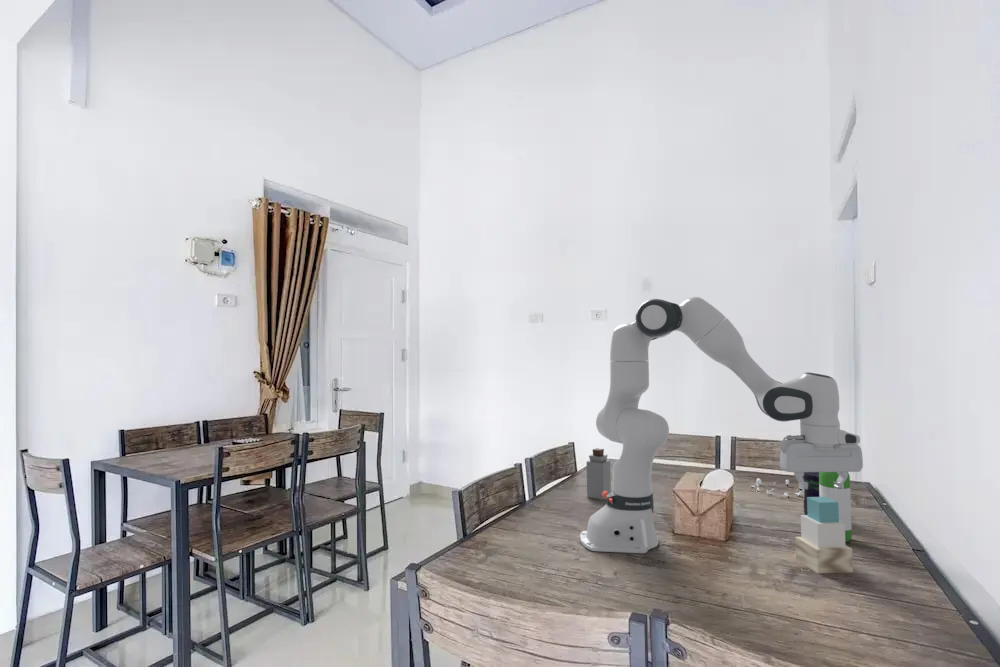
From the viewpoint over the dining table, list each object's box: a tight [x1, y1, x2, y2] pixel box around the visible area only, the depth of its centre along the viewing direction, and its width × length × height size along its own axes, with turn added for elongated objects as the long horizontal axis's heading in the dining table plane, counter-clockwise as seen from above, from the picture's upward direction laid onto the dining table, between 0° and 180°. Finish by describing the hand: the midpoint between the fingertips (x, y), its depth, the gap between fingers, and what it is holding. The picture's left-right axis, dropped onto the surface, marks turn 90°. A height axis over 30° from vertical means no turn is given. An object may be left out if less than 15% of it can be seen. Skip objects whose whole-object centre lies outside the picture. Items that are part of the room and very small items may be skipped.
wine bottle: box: [819, 472, 853, 543], centre depth 153 cm, size 8×8×30 cm
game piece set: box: [751, 477, 804, 497], centre depth 204 cm, size 19×20×4 cm
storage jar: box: [802, 472, 820, 515], centre depth 170 cm, size 10×10×15 cm
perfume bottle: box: [586, 447, 612, 501], centre depth 200 cm, size 7×7×18 cm
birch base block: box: [794, 536, 854, 574], centre depth 134 cm, size 9×9×6 cm
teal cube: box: [807, 497, 839, 522], centre depth 135 cm, size 5×5×5 cm
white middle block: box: [800, 514, 846, 548], centre depth 134 cm, size 7×7×6 cm
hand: (821, 488), depth 135 cm, fingers open, 8 cm apart
